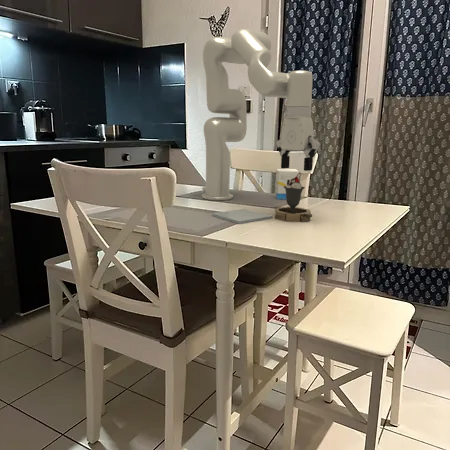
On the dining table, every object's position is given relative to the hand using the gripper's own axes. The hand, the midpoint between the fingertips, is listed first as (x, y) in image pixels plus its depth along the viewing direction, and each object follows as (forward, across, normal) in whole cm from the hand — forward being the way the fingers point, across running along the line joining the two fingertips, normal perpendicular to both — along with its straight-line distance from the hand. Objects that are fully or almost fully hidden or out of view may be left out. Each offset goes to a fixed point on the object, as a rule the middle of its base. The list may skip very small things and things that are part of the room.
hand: (296, 169), depth 137 cm
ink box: (+15, -29, +26) cm, 42 cm away
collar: (+16, -1, 0) cm, 16 cm away
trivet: (+16, -11, -13) cm, 23 cm away
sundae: (+16, -1, 0) cm, 16 cm away
